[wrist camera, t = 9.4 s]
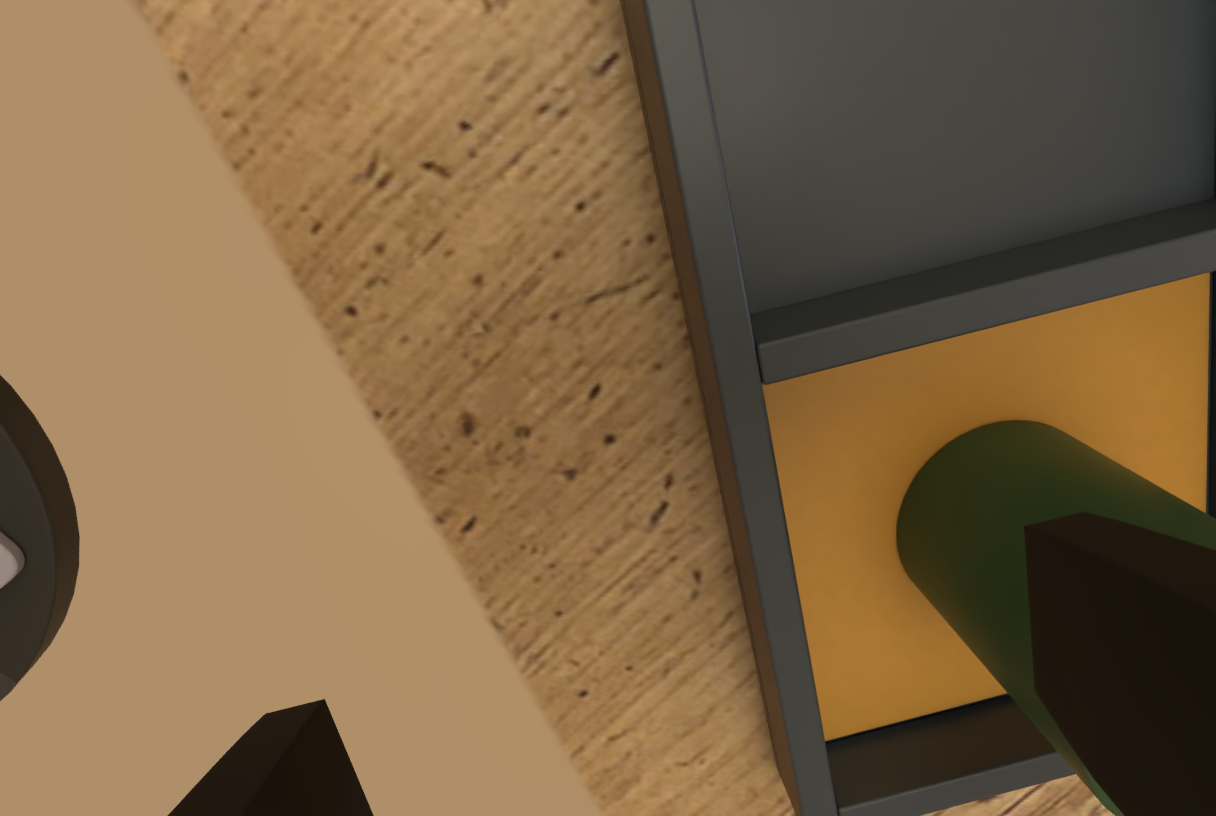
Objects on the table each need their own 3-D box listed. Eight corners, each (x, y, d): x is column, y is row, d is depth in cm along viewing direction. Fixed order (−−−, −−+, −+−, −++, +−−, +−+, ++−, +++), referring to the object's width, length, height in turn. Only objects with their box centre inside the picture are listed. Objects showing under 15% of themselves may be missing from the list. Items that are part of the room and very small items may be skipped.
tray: (776, 768, 21) (808, 846, 19) (554, -323, 13) (562, -411, 11) (1223, 650, 21) (1307, 713, 19) (1252, -486, 14) (1399, -606, 11)
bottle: (957, 644, 20) (1329, 1088, 11) (856, 505, 18) (1188, 883, 9) (1130, 529, 19) (1673, 894, 10) (1041, 376, 18) (1584, 644, 9)
